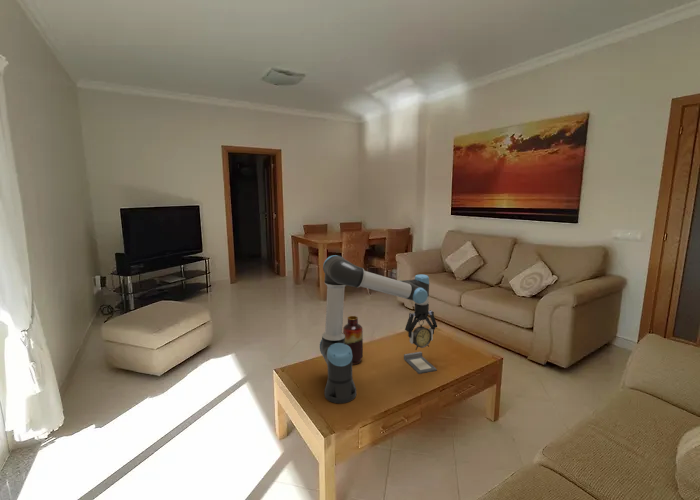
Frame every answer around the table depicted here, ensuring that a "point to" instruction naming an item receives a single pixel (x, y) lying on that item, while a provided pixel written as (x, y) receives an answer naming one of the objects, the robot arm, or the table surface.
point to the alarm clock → (421, 336)
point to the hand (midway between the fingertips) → (421, 341)
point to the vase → (354, 338)
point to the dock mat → (419, 363)
